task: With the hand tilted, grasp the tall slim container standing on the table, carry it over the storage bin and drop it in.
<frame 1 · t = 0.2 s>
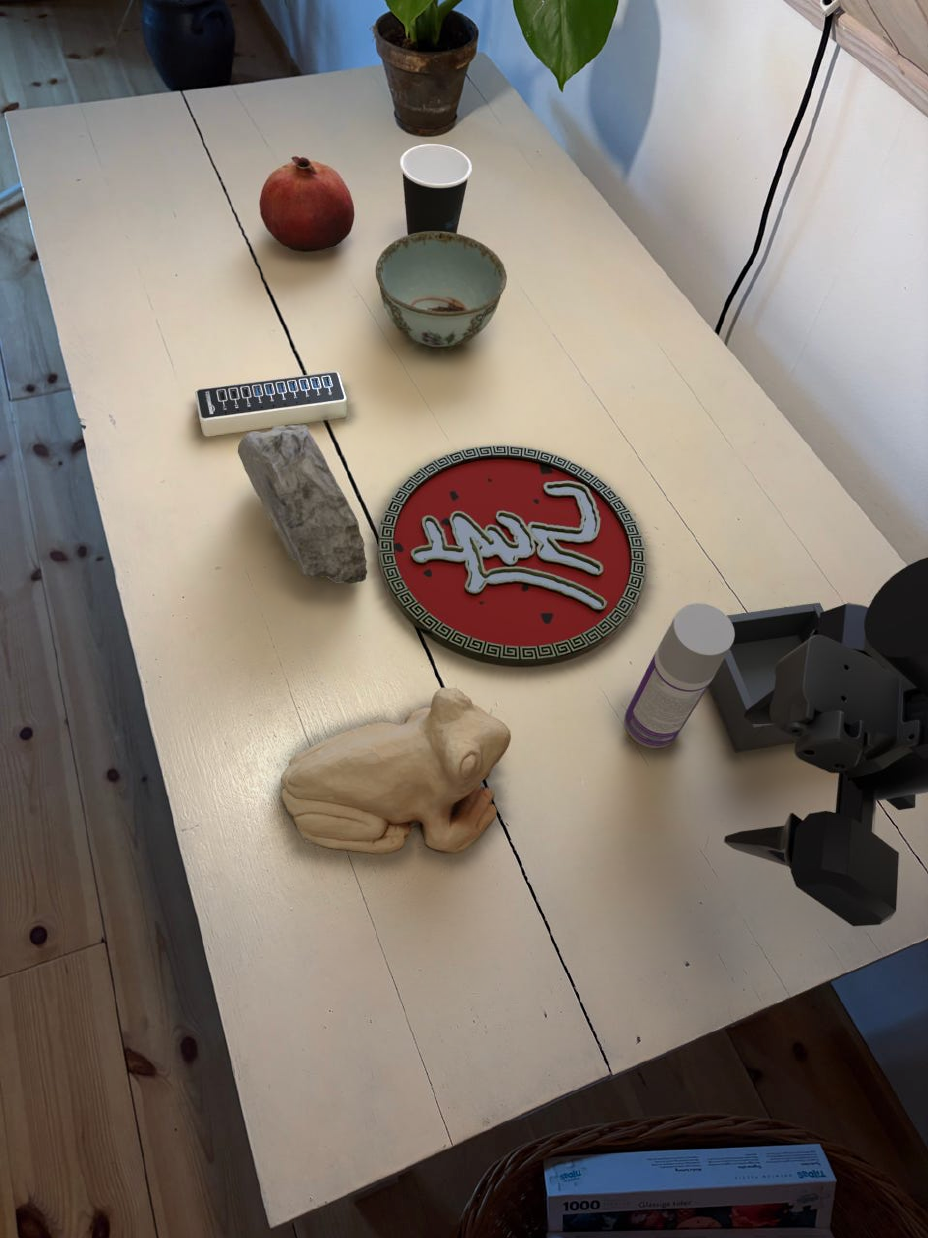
hand: (738, 778, 61), 15 cm above the table, tool tilted 35°, fingers open, 9 cm apart
figurine: (392, 784, 75), on the table
container: (650, 724, 80), on the table
decorative plate: (511, 552, 89), on the table
fruit: (309, 243, 111), on the table
decorative rock: (303, 543, 87), on the table
multiport hub: (273, 412, 96), on the table
bowl: (436, 332, 105), on the table
dixie cup: (430, 252, 112), on the table
storage bin: (769, 688, 83), on the table
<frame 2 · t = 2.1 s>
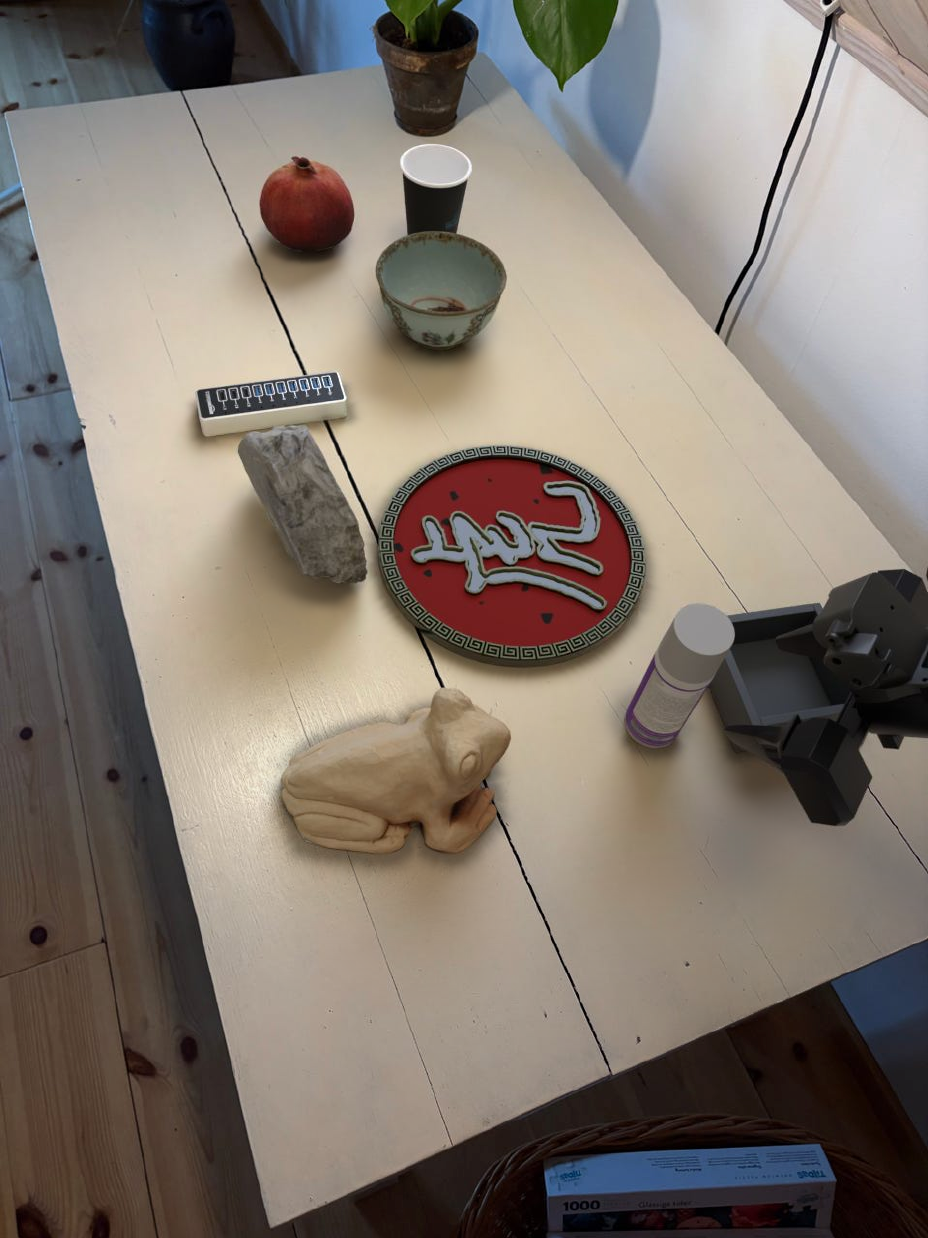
hand: (752, 686, 69), 12 cm above the table, tool tilted 45°, fingers open, 9 cm apart
nothing on the table moved.
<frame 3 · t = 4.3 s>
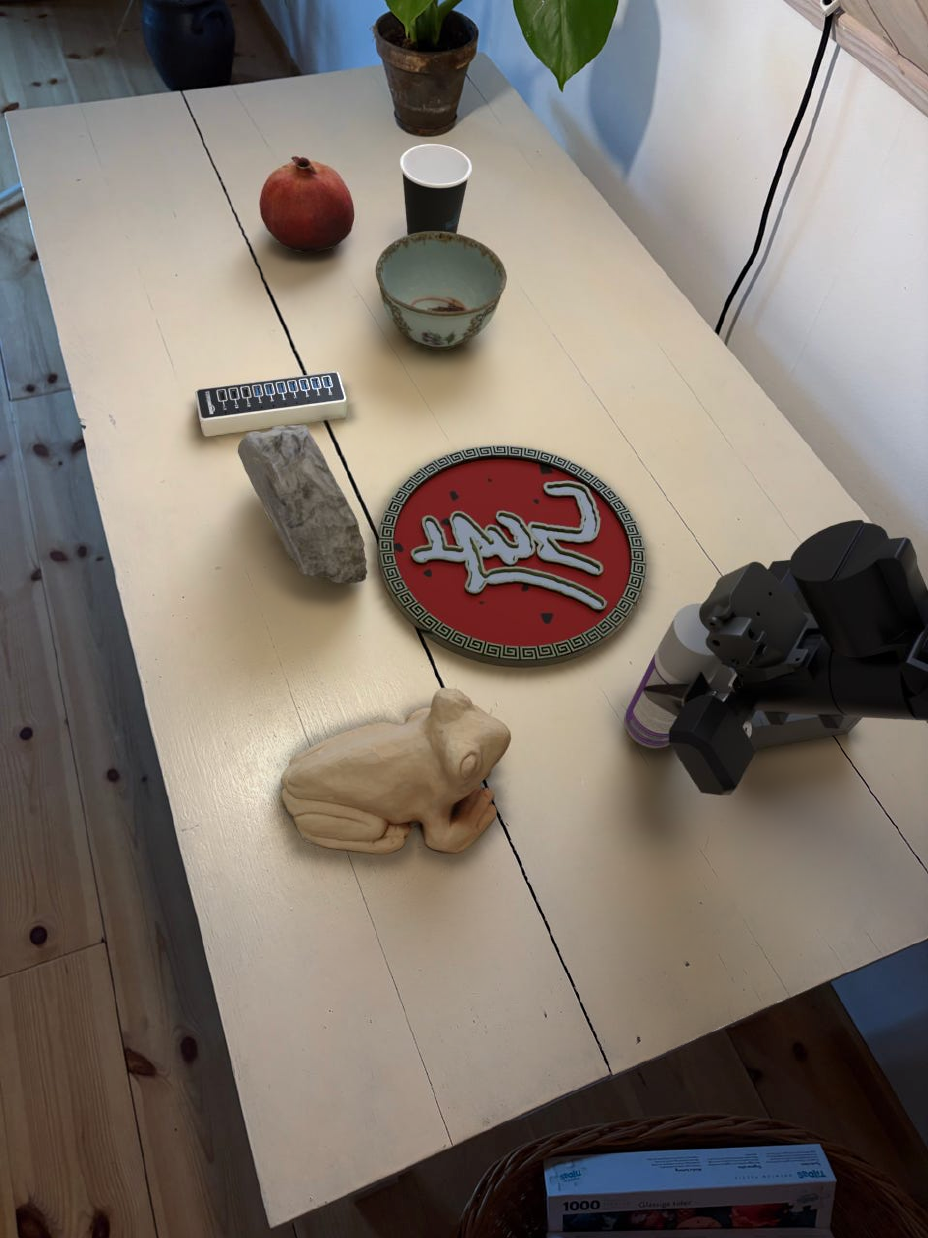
hand: (660, 670, 74), 8 cm above the table, tool tilted 45°, fingers closed on container, 5 cm apart
container: (650, 724, 80), on the table, touching gripper
everything else where it was.
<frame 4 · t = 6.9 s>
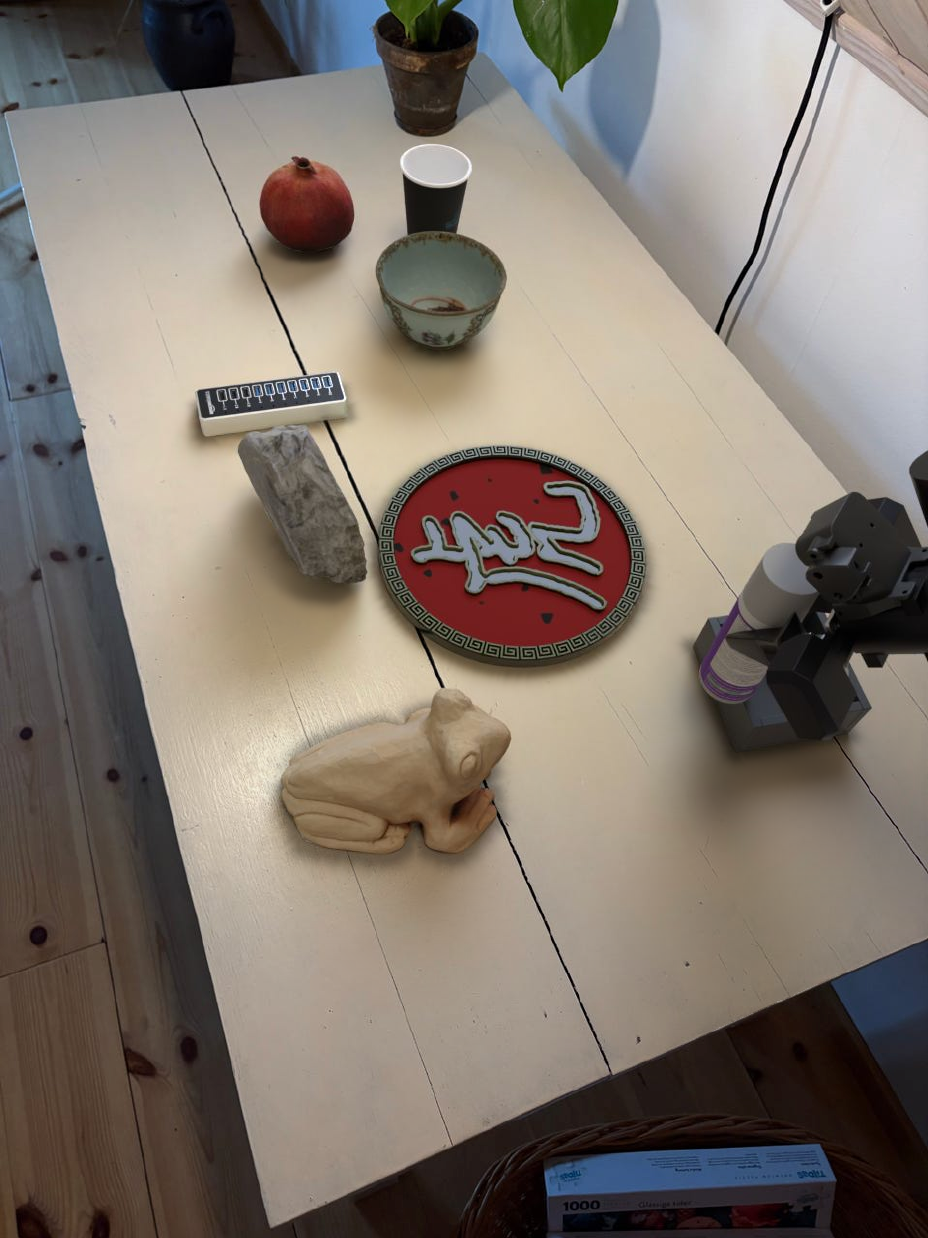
hand: (741, 618, 70), 13 cm above the table, tool tilted 45°, fingers closed on container, 5 cm apart
container: (726, 680, 76), point 5 cm above the table, touching gripper
everything else where it was.
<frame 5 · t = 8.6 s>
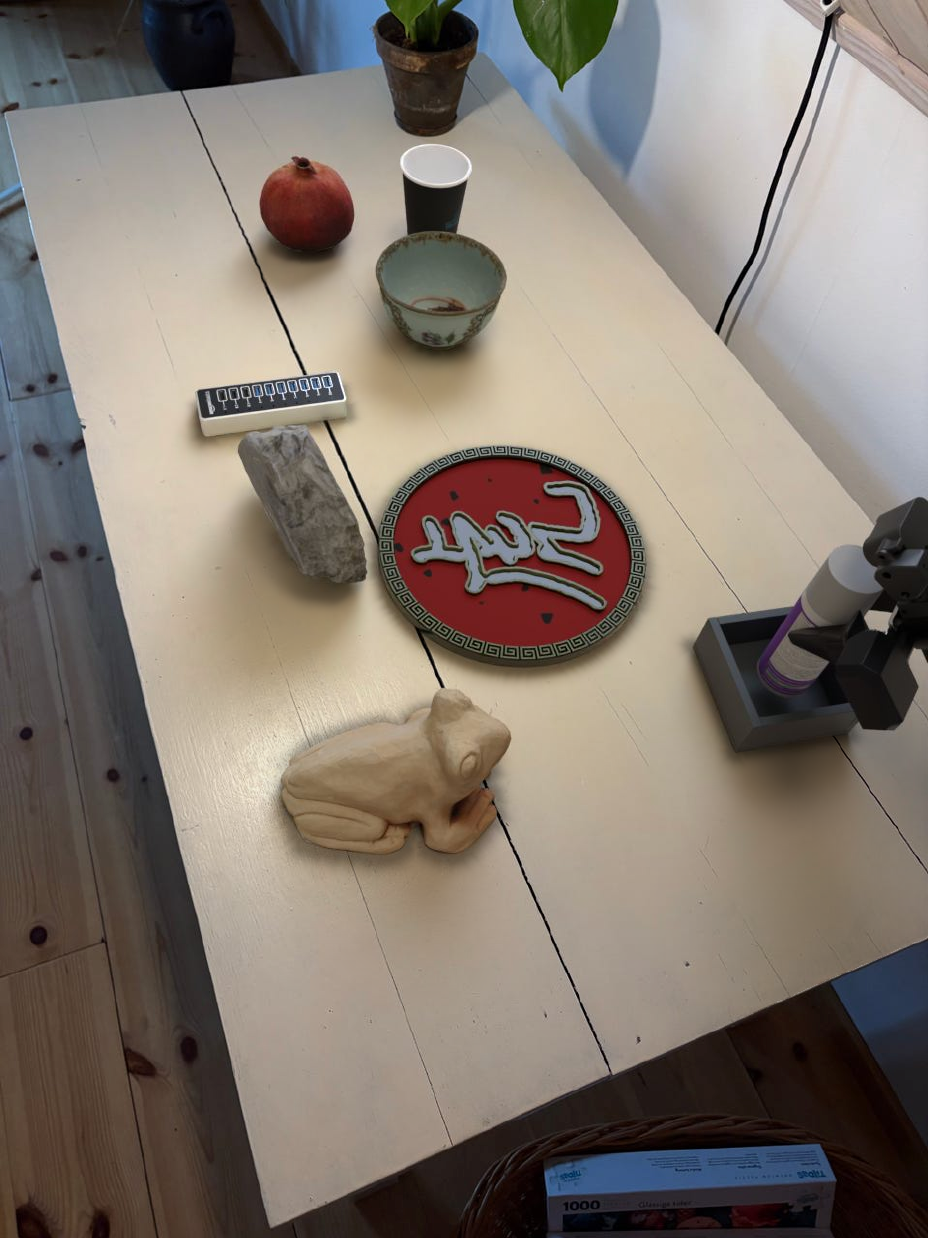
hand: (802, 616, 74), 11 cm above the table, tool tilted 45°, fingers closed on container, 5 cm apart
container: (782, 675, 80), point 3 cm above the table, touching gripper
everything else where it was.
when the fingers open (8 cm above the table, at t = 9.8 s): container stays where it is, resting on storage bin.
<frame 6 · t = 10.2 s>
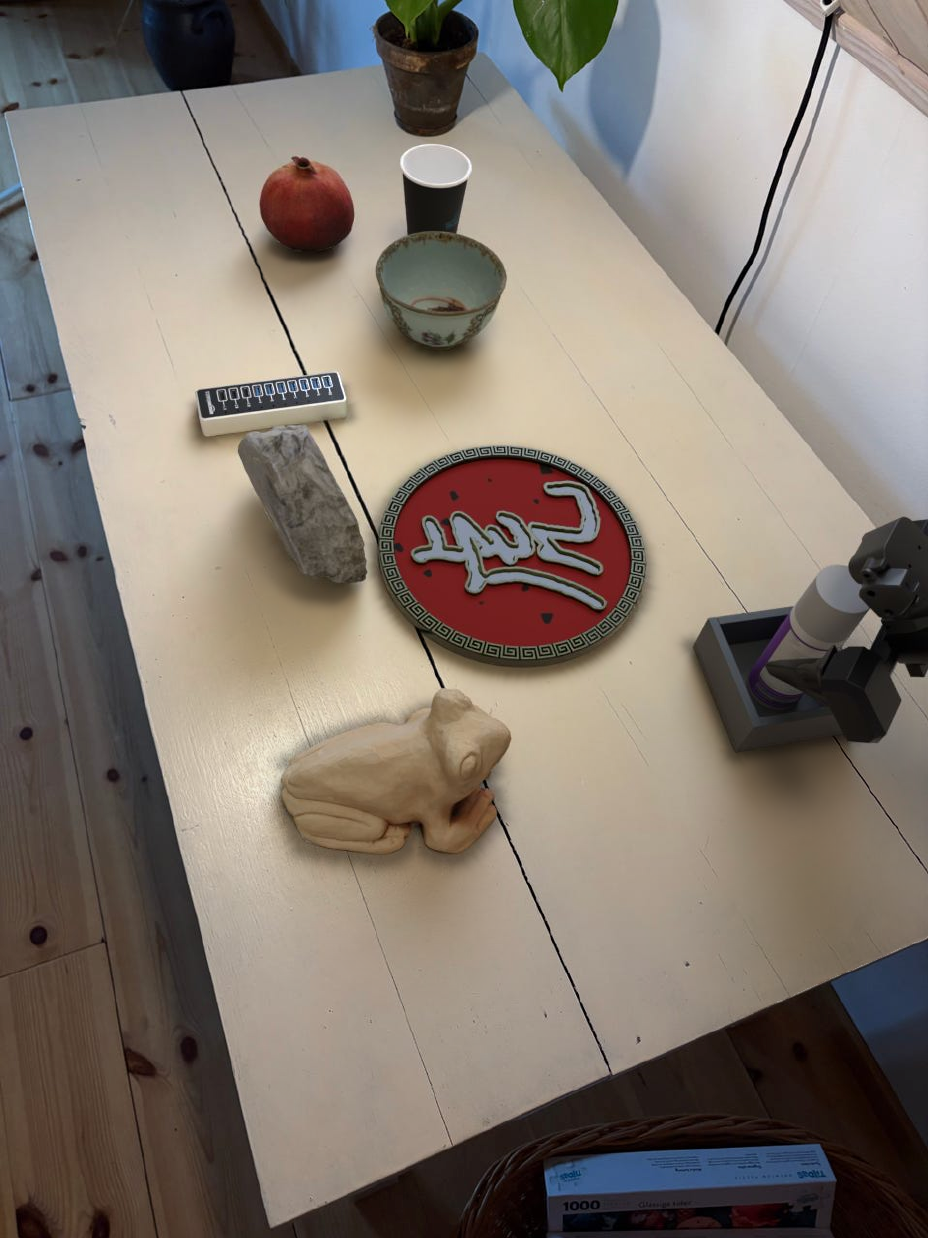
hand: (790, 628, 76), 8 cm above the table, tool tilted 45°, fingers open, 9 cm apart
container: (772, 688, 82), resting on storage bin
everything else where it was.
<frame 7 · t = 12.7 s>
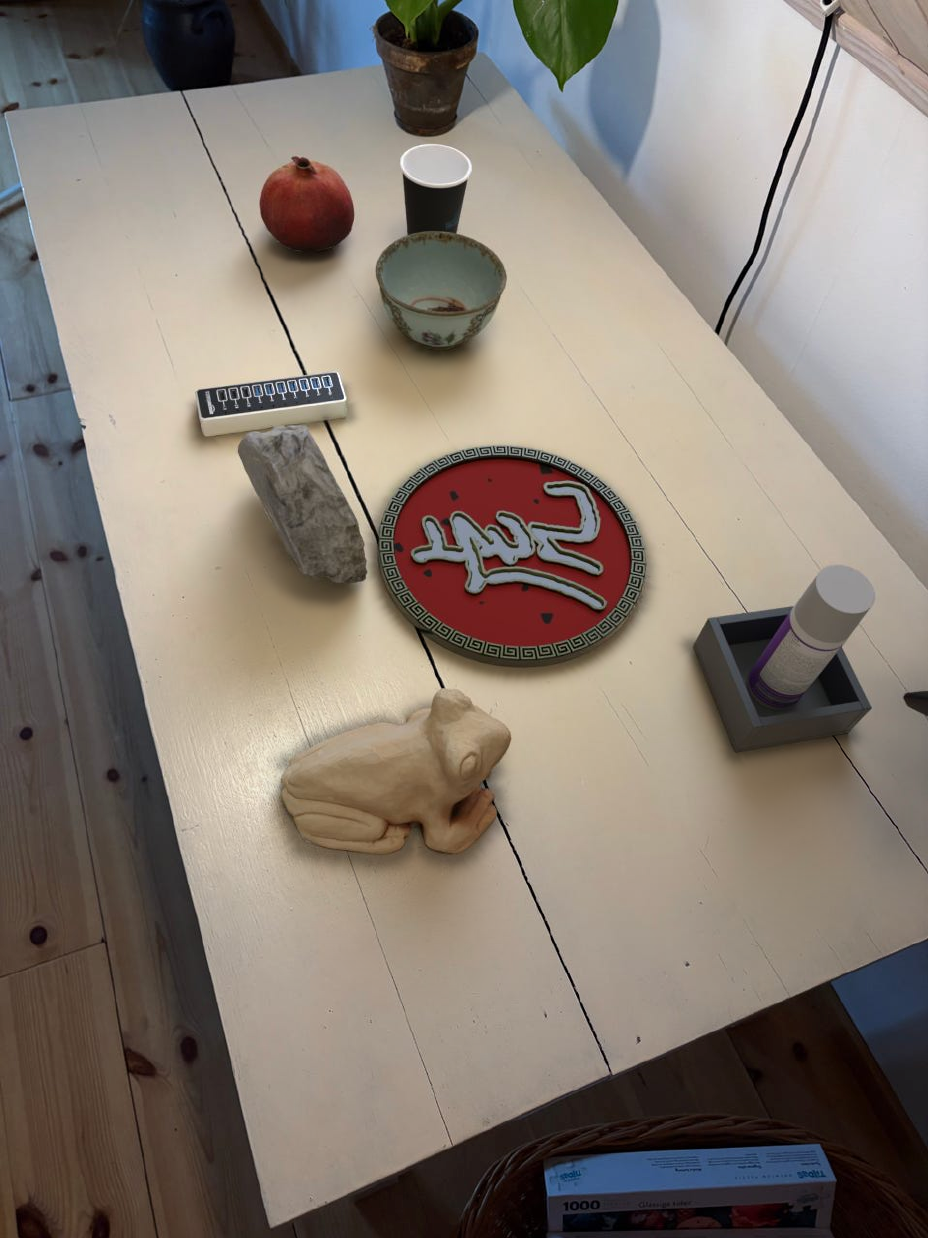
hand: (925, 655, 70), 13 cm above the table, tool tilted 45°, fingers open, 9 cm apart
nothing on the table moved.
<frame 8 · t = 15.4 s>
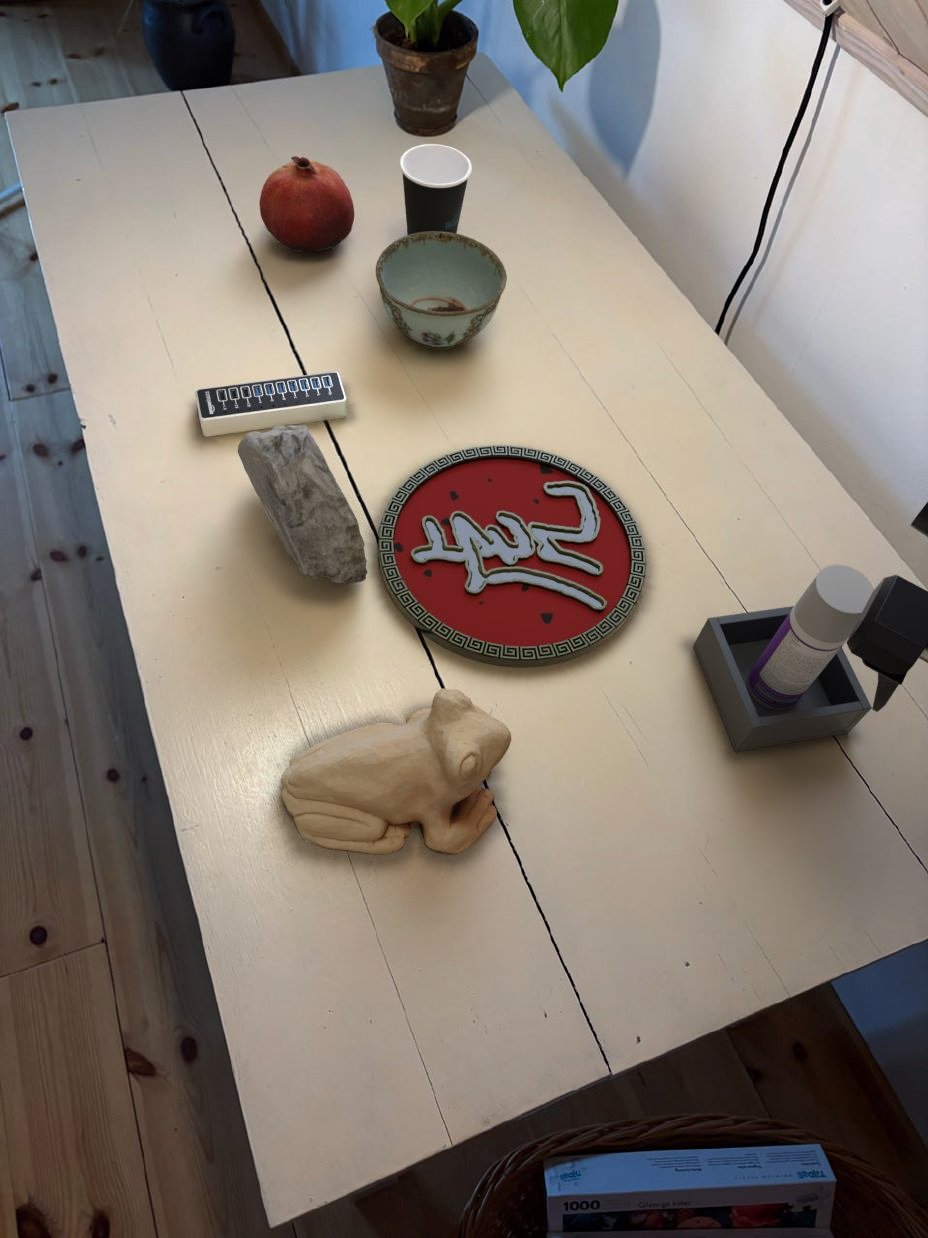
nothing on the table moved.
at the end: container inside the target area in the storage bin (0.2 cm from its centre), point 0.4 cm above the storage bin's base; the gripper is holding nothing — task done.
